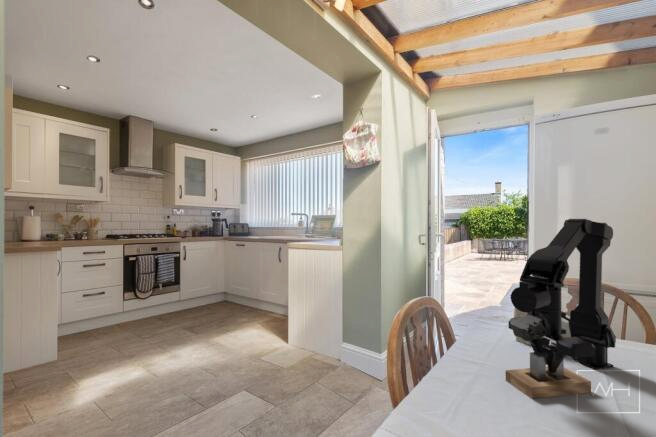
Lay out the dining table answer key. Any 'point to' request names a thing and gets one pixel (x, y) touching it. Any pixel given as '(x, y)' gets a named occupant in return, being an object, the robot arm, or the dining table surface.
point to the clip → (543, 367)
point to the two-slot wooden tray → (548, 384)
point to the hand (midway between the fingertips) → (546, 370)
